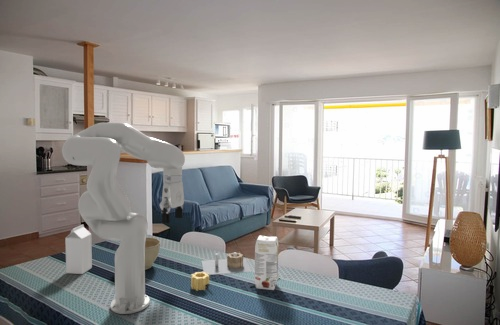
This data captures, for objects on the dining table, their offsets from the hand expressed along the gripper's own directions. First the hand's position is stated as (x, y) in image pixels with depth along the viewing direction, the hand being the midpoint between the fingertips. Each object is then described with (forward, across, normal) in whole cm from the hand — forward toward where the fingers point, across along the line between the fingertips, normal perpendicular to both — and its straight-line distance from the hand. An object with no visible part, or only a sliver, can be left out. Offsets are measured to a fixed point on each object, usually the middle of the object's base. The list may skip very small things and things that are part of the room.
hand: (172, 220), depth 140 cm
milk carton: (+23, -12, +38) cm, 46 cm away
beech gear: (+21, +14, -23) cm, 34 cm away
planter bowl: (+23, +1, +16) cm, 28 cm away
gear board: (+22, +12, -19) cm, 32 cm away
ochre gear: (+22, -8, -17) cm, 29 cm away
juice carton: (+23, +2, -40) cm, 46 cm away
